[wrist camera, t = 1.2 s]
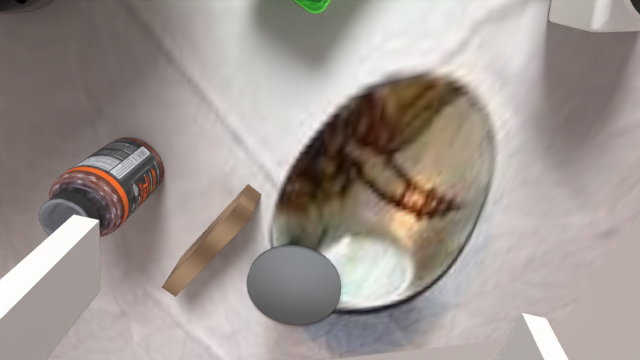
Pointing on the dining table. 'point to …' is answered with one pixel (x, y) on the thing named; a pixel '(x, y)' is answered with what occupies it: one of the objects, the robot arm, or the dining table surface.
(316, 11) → the fruit basket
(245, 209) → the rail
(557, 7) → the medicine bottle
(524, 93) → the dining table surface
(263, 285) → the coaster
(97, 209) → the supplement bottle
